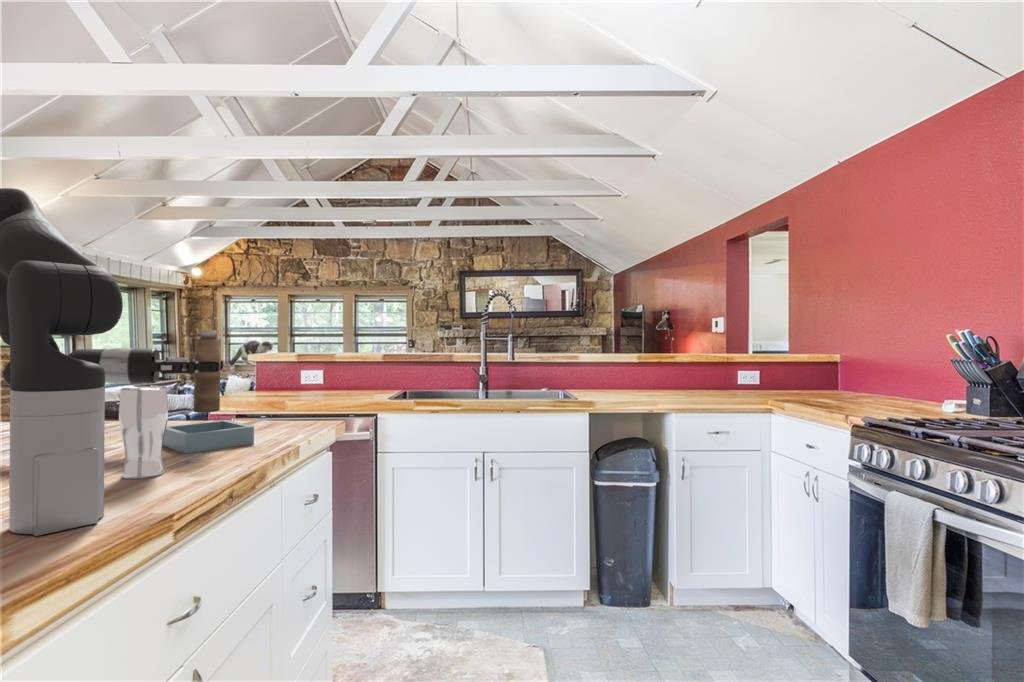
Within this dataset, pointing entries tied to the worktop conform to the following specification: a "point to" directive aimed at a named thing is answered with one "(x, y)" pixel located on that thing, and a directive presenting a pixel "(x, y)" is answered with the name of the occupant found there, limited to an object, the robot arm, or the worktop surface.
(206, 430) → the tray
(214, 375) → the pepper mill
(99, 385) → the robot arm
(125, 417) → the beer glass
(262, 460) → the worktop surface
